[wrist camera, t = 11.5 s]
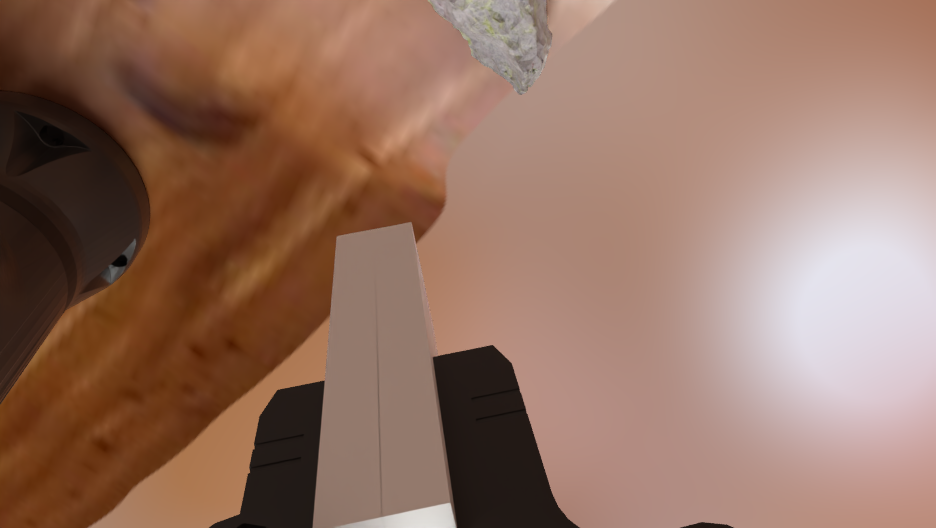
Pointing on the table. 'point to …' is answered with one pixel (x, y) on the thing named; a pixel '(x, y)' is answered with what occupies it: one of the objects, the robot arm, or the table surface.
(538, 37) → the rock
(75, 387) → the table surface
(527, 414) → the robot arm
